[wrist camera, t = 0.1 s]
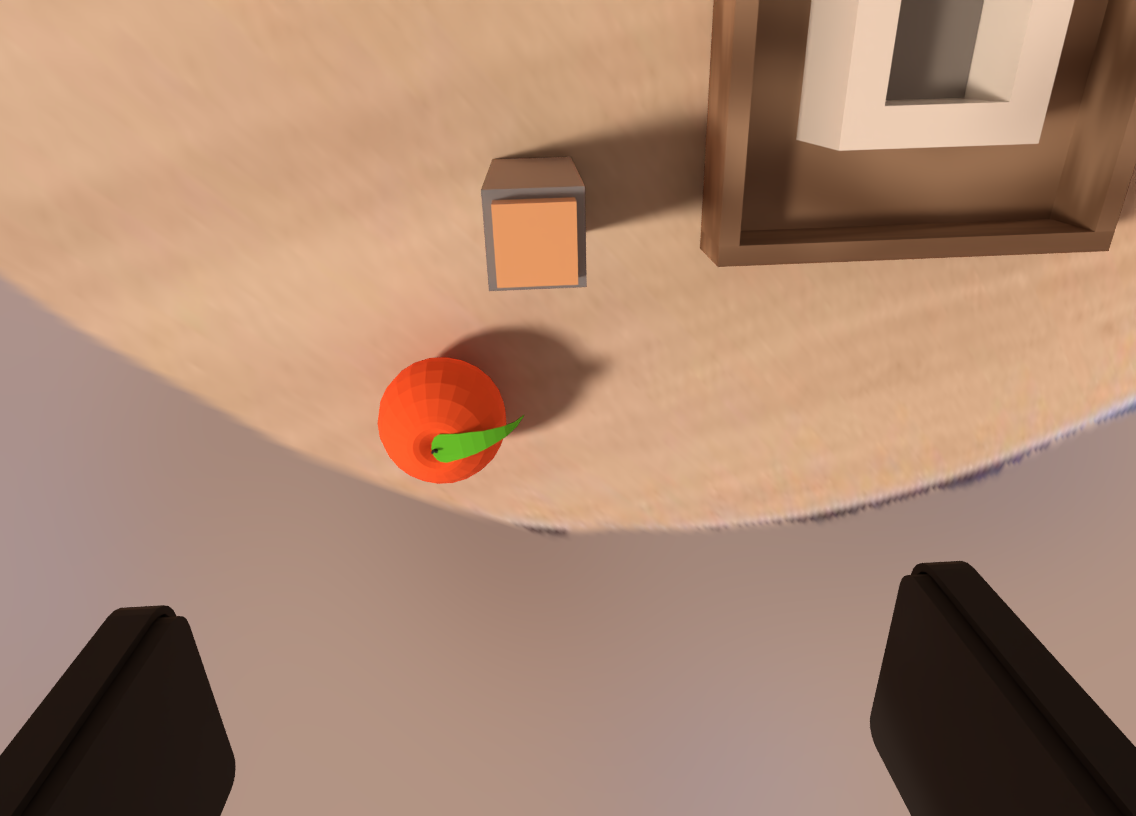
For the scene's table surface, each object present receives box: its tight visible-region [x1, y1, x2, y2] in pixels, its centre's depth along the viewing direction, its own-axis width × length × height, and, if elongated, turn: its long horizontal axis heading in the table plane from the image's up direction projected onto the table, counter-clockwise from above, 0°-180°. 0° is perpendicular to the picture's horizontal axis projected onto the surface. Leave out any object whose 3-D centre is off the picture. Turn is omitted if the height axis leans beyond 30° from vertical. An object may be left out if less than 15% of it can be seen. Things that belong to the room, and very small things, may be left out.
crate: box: [700, 0, 1136, 267], centre depth 33 cm, size 18×20×4 cm
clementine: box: [378, 357, 524, 484], centre depth 38 cm, size 8×7×7 cm
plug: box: [481, 157, 587, 291], centre depth 32 cm, size 4×4×11 cm
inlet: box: [796, 0, 1074, 151], centre depth 31 cm, size 9×9×5 cm
